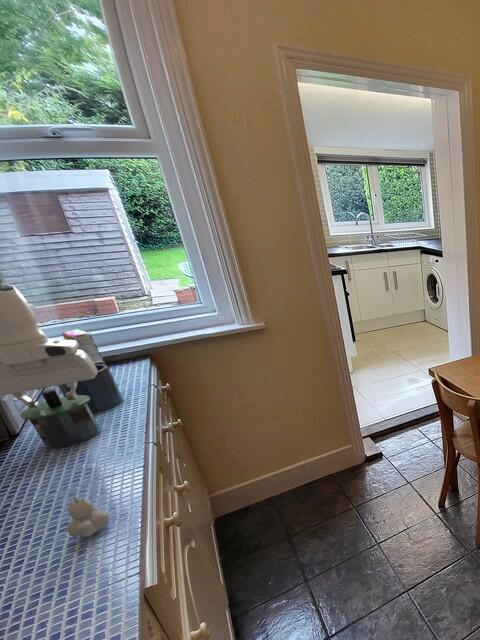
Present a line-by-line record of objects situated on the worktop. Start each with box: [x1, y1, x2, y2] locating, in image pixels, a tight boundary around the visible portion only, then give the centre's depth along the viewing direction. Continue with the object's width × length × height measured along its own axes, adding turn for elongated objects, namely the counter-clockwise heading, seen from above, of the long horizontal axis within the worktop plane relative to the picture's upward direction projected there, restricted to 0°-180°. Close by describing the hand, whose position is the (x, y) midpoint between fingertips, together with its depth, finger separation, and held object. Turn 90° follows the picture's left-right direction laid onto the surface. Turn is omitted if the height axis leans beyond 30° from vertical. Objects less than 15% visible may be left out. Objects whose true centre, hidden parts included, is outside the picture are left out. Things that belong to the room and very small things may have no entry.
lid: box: [20, 389, 90, 421], centre depth 103 cm, size 12×12×5 cm
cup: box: [29, 404, 101, 450], centre depth 106 cm, size 10×10×9 cm
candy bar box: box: [61, 328, 107, 366], centre depth 147 cm, size 11×5×16 cm, turn 59°
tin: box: [57, 365, 124, 415], centre depth 123 cm, size 11×11×12 cm
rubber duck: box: [66, 495, 110, 538], centre depth 73 cm, size 5×7×8 cm
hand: (54, 402), depth 104 cm, fingers open, 6 cm apart
